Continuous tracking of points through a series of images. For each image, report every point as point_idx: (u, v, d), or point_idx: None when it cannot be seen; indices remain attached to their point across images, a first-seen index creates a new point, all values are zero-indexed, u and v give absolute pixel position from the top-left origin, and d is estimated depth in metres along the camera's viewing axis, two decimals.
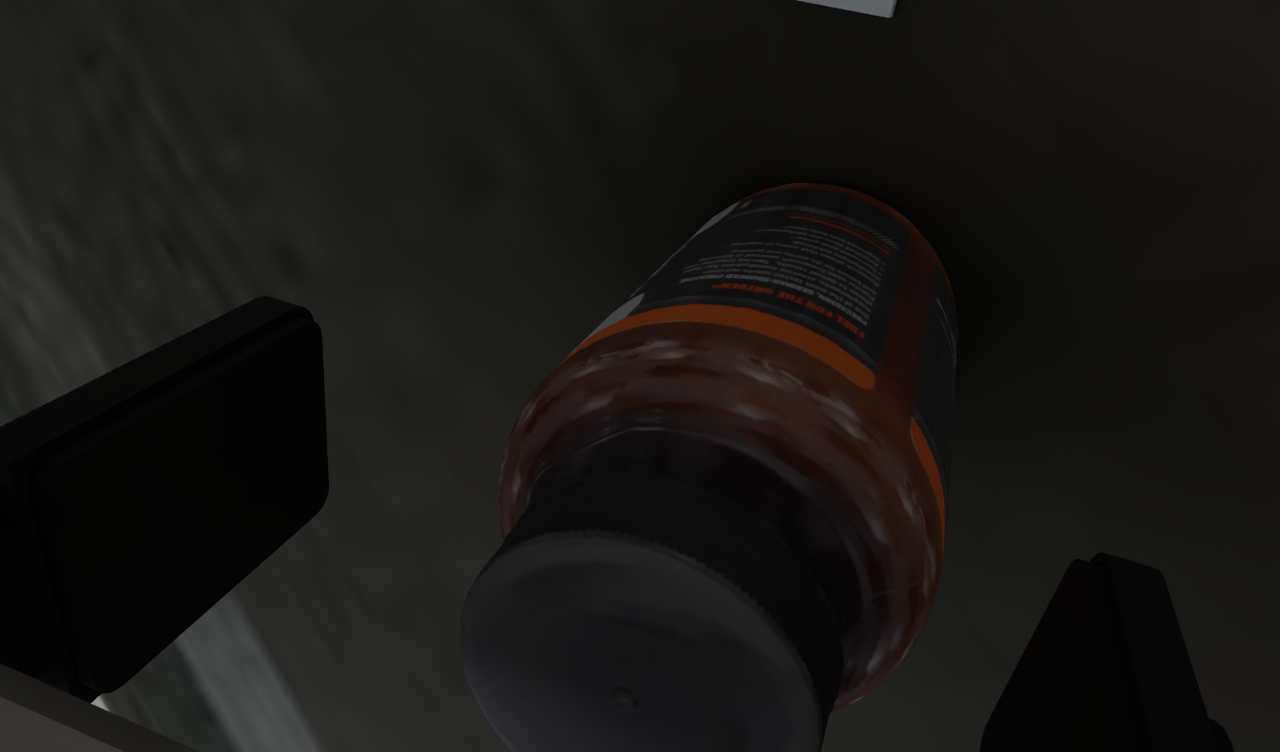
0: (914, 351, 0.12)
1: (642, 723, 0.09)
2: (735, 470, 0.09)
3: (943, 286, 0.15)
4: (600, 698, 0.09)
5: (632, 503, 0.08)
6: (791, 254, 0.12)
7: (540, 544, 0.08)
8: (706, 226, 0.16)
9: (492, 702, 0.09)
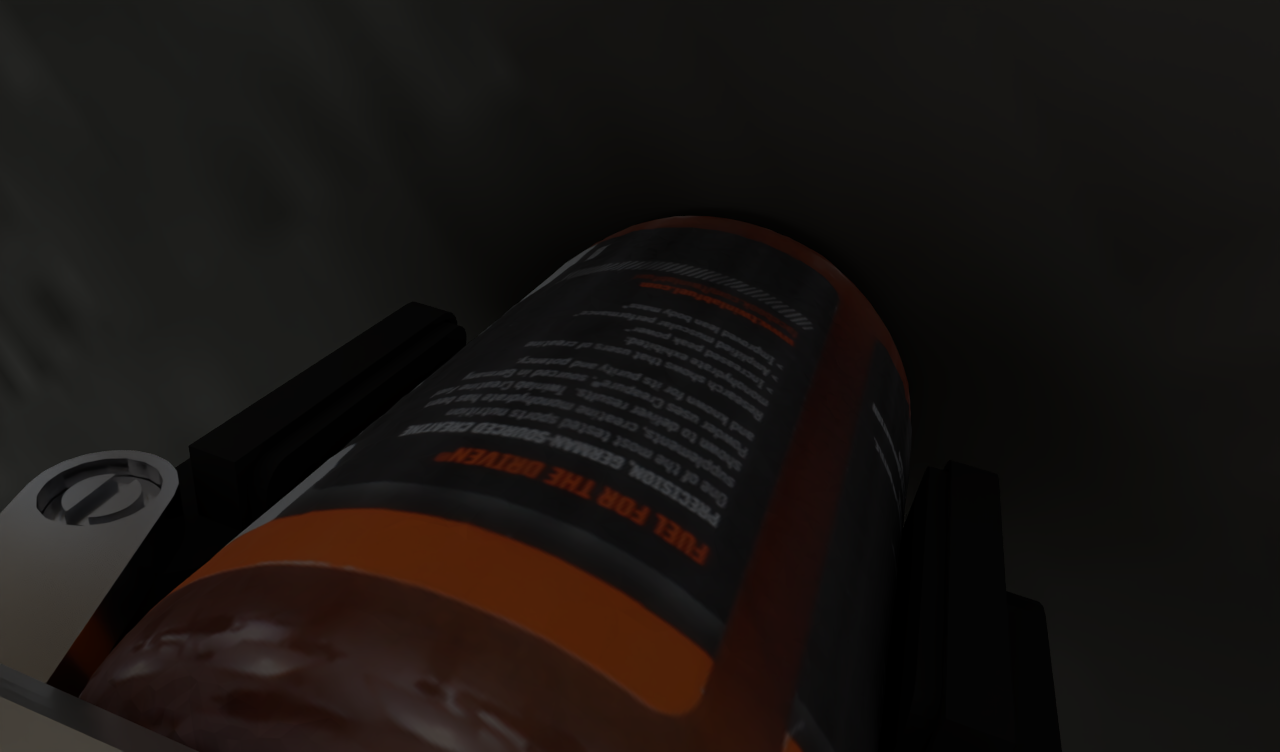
0: (816, 542, 0.07)
1: None
2: None
3: (886, 375, 0.10)
4: None
5: None
6: (612, 370, 0.07)
7: None
8: (539, 286, 0.11)
9: None
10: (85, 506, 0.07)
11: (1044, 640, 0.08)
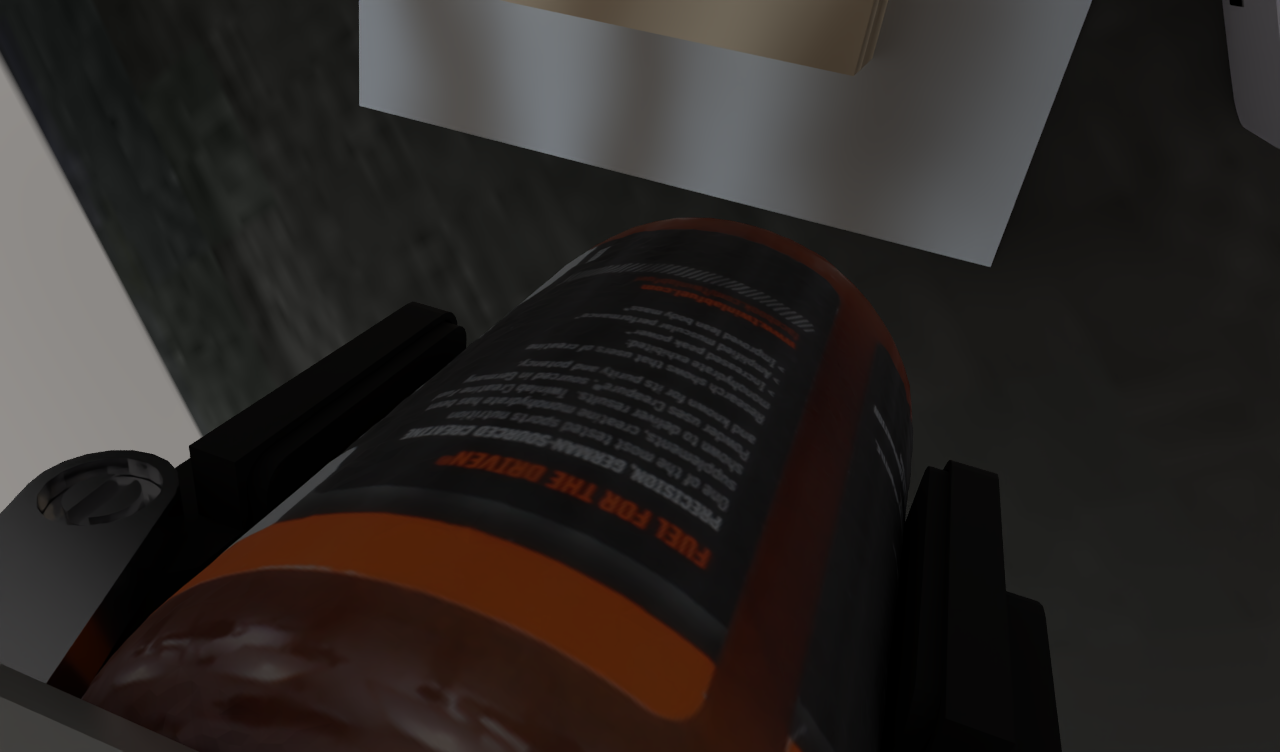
0: (816, 546, 0.07)
1: None
2: None
3: (888, 377, 0.10)
4: None
5: None
6: (613, 373, 0.07)
7: None
8: (540, 288, 0.11)
9: None
10: (85, 506, 0.07)
11: (1044, 641, 0.08)
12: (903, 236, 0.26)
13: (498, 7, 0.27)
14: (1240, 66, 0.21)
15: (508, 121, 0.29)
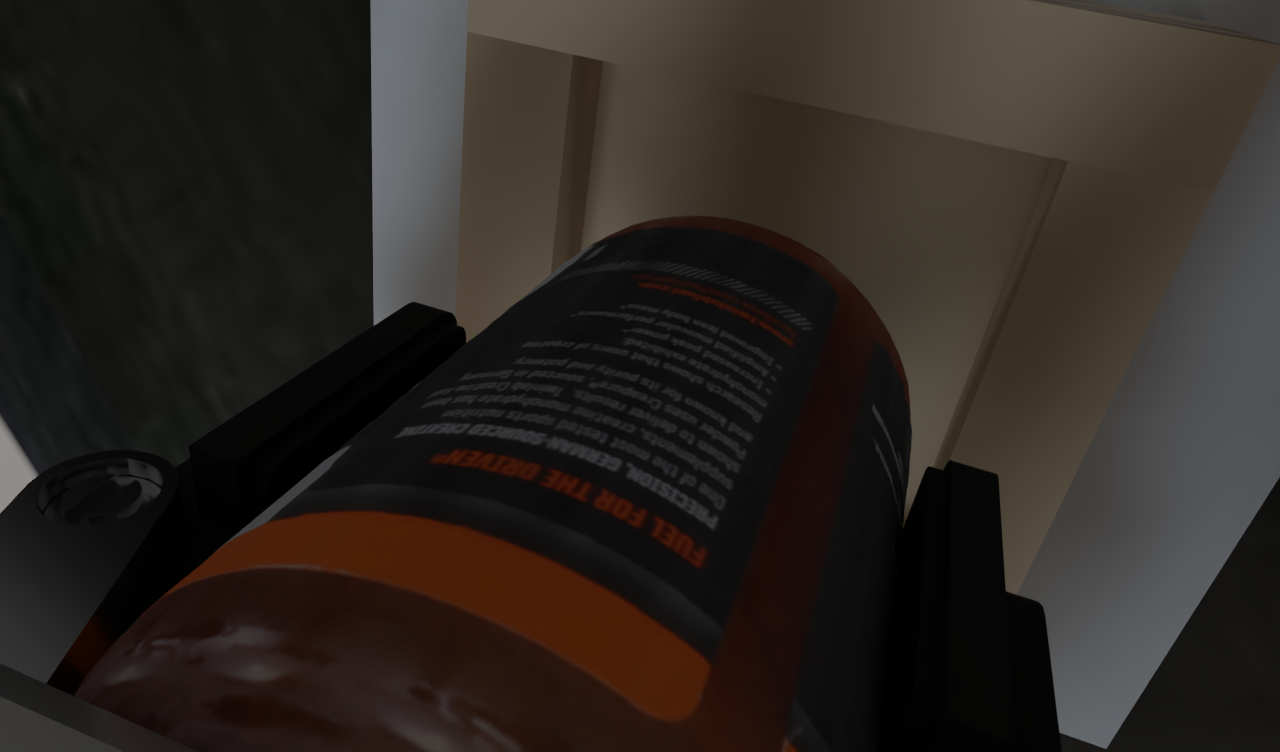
0: (814, 545, 0.07)
1: None
2: None
3: (886, 376, 0.10)
4: None
5: None
6: (610, 371, 0.07)
7: None
8: (537, 286, 0.11)
9: None
10: (86, 506, 0.07)
11: (1044, 640, 0.08)
12: None
13: None
14: None
15: None
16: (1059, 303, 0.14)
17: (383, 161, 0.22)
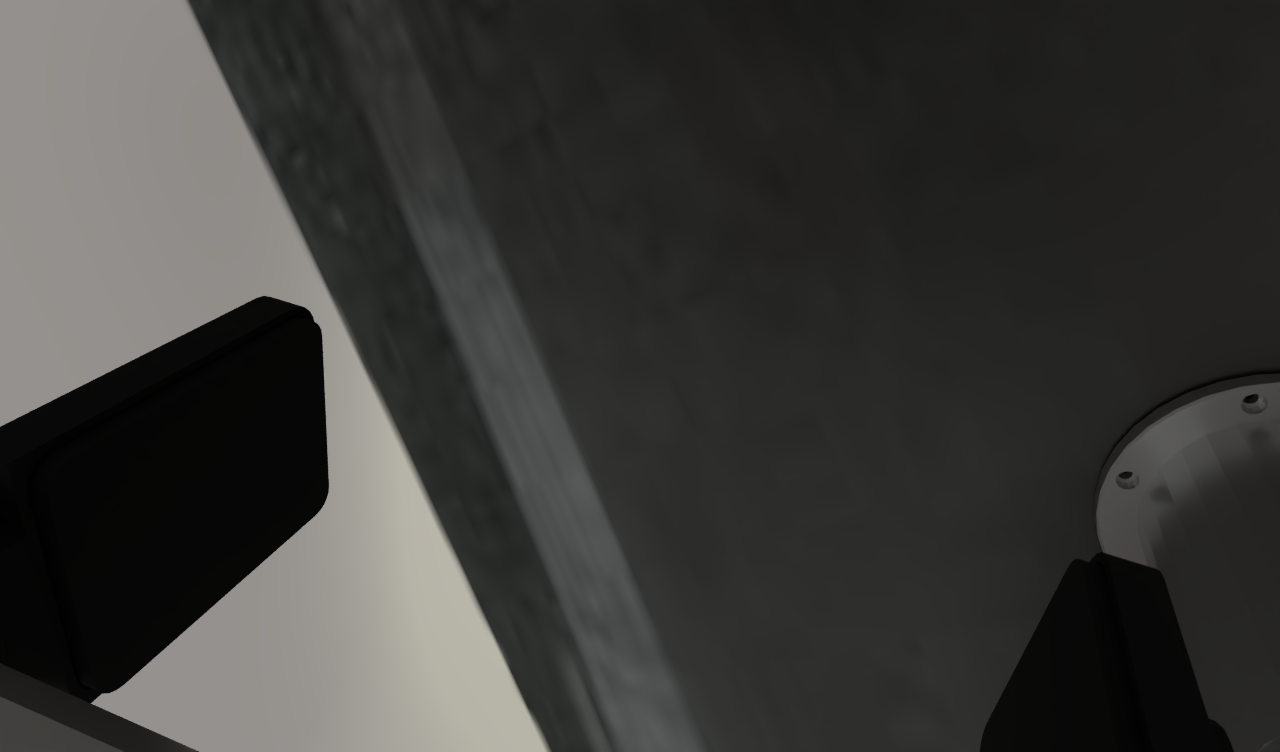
0: None
1: None
2: None
3: None
4: None
5: None
6: None
7: None
8: None
9: None
10: None
11: None
12: None
13: None
14: None
15: None
16: None
17: None
